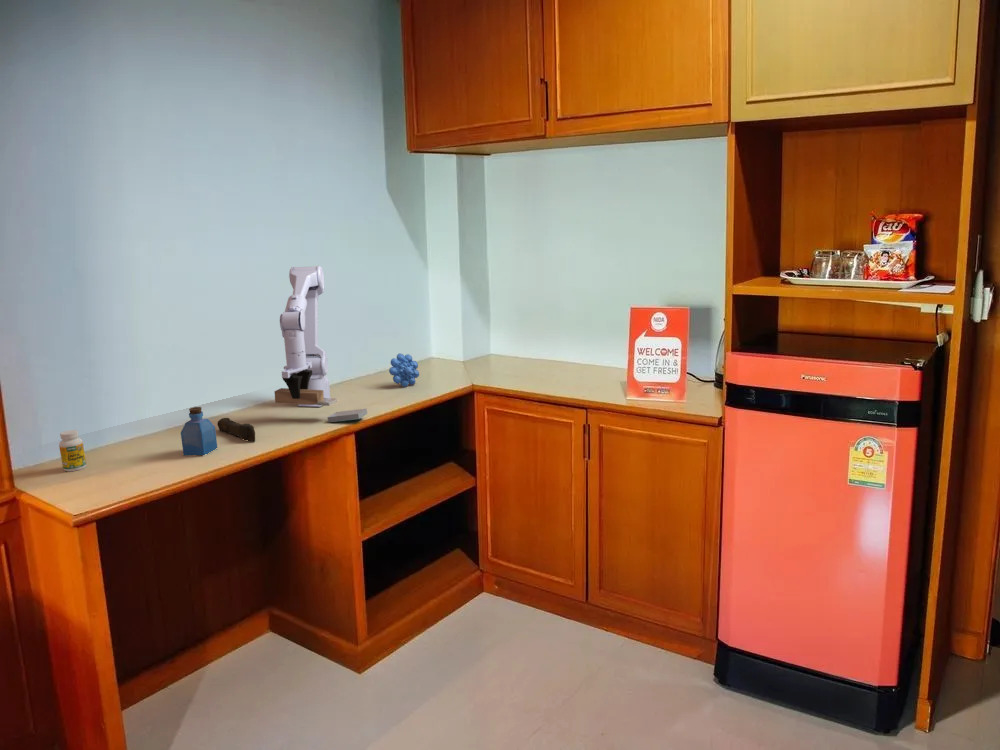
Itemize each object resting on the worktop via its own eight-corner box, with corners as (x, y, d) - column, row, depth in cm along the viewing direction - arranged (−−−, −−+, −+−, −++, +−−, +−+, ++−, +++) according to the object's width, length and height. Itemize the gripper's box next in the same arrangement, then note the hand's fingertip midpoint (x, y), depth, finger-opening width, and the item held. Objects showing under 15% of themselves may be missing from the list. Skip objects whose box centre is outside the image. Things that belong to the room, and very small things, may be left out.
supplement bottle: (81, 463, 213) (75, 428, 211) (90, 467, 209) (84, 431, 207) (59, 469, 209) (53, 433, 207) (68, 473, 206) (62, 436, 203)
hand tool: (217, 432, 238) (215, 416, 237) (231, 429, 241) (229, 413, 240) (245, 445, 224) (243, 429, 223) (259, 442, 226) (257, 426, 225)
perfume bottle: (217, 448, 221) (212, 405, 218) (204, 456, 215) (199, 411, 212) (197, 448, 222) (191, 405, 220) (183, 455, 216) (177, 411, 214)
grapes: (397, 392, 277) (395, 357, 274) (387, 388, 282) (384, 354, 279) (426, 386, 284) (424, 351, 281) (415, 383, 289) (413, 349, 286)
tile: (336, 411, 248) (366, 408, 245) (337, 417, 248) (367, 413, 245) (327, 417, 242) (358, 413, 239) (328, 422, 242) (359, 419, 239)
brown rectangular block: (283, 398, 251) (282, 387, 250) (337, 401, 246) (336, 390, 245) (274, 403, 246) (273, 391, 245) (329, 406, 241) (328, 394, 241)
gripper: (295, 347, 251) (299, 390, 254) (270, 356, 238) (275, 402, 240) (316, 347, 249) (320, 390, 252) (292, 356, 236) (297, 402, 239)
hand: (299, 396), depth 246 cm, fingers closed on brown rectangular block, 4 cm apart
